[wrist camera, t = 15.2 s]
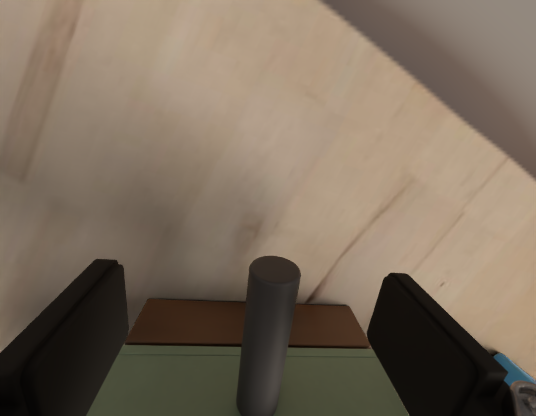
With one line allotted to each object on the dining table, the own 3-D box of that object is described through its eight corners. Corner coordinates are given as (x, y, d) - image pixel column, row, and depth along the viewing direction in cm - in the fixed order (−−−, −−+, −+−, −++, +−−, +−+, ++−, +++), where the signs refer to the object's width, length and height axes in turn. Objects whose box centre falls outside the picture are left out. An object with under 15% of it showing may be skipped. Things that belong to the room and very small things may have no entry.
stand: (154, 433, 18) (137, 490, 15) (147, 298, 15) (123, 341, 12) (317, 429, 20) (329, 482, 17) (349, 305, 16) (371, 346, 13)
